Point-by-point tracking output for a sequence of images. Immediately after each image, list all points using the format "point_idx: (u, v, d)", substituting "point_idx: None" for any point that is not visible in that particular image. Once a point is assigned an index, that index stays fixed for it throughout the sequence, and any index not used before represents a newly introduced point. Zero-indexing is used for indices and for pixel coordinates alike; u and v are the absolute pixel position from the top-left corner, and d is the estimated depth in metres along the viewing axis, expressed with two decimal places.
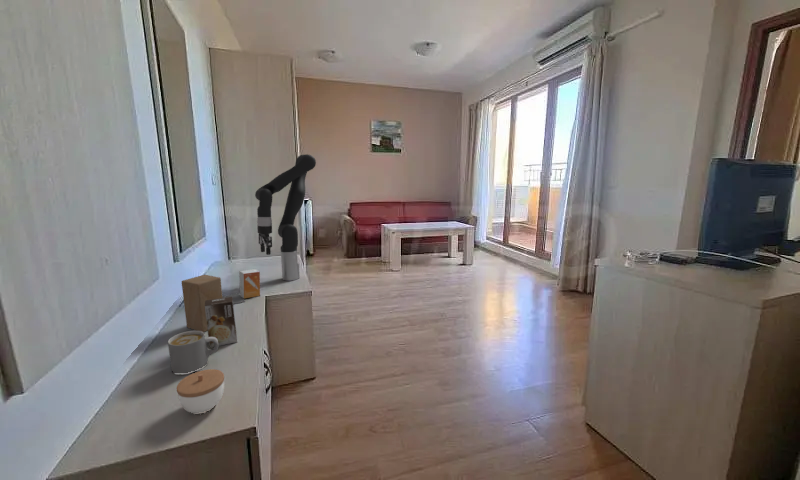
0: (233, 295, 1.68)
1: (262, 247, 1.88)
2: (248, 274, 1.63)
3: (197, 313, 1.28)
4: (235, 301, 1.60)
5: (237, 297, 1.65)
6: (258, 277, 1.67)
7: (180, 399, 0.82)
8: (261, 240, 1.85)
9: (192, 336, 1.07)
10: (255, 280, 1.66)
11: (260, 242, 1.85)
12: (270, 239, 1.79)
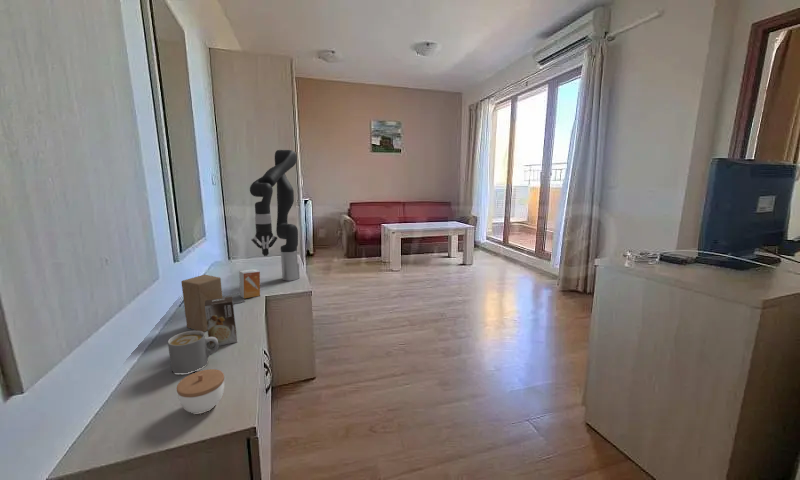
0: (233, 295, 1.68)
1: None
2: (248, 274, 1.63)
3: (197, 313, 1.28)
4: (235, 301, 1.60)
5: (237, 297, 1.65)
6: (258, 277, 1.67)
7: (180, 399, 0.82)
8: (264, 240, 1.67)
9: (192, 336, 1.07)
10: (255, 280, 1.66)
11: (264, 243, 1.67)
12: None
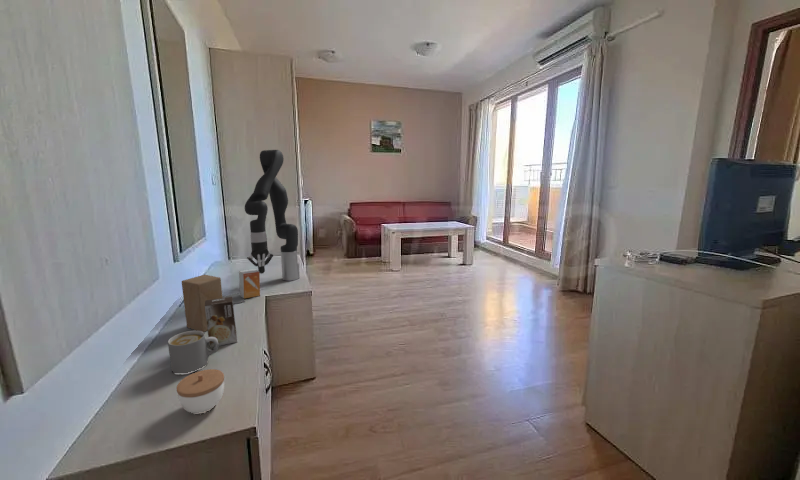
0: (233, 295, 1.68)
1: None
2: (247, 274, 1.63)
3: (197, 313, 1.28)
4: (235, 301, 1.60)
5: (237, 297, 1.65)
6: (258, 277, 1.67)
7: (180, 399, 0.82)
8: (260, 258, 1.67)
9: (192, 336, 1.07)
10: (255, 280, 1.66)
11: (260, 261, 1.67)
12: None
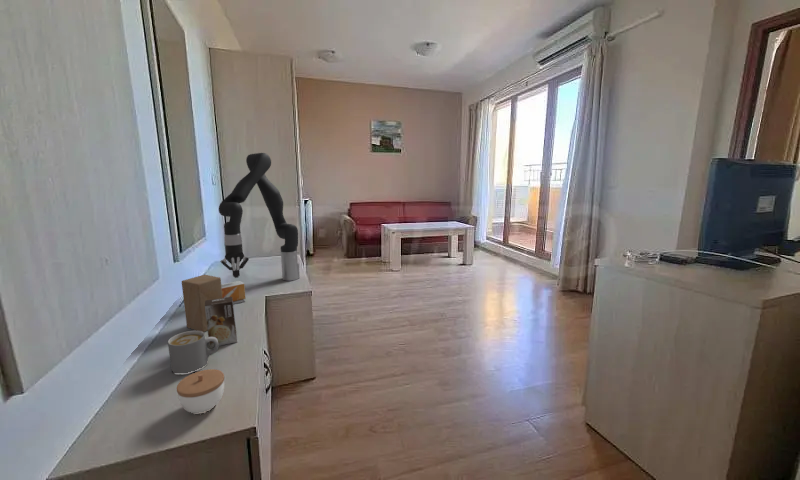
0: None
1: None
2: None
3: (197, 313, 1.28)
4: (235, 301, 1.60)
5: None
6: (223, 289, 1.56)
7: (180, 399, 0.82)
8: (234, 261, 1.60)
9: (192, 336, 1.07)
10: (226, 291, 1.57)
11: None
12: None
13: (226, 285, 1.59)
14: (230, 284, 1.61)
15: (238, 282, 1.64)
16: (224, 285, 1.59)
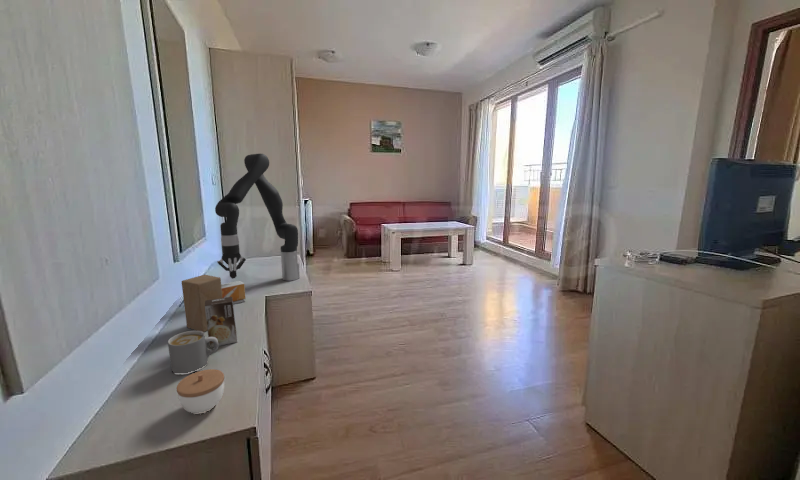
0: None
1: None
2: None
3: (197, 313, 1.28)
4: (235, 301, 1.60)
5: None
6: (223, 289, 1.56)
7: (180, 399, 0.82)
8: (231, 262, 1.59)
9: (192, 336, 1.07)
10: (226, 291, 1.57)
11: (231, 265, 1.59)
12: None
13: (226, 285, 1.59)
14: (230, 284, 1.61)
15: (238, 282, 1.64)
16: (224, 285, 1.59)
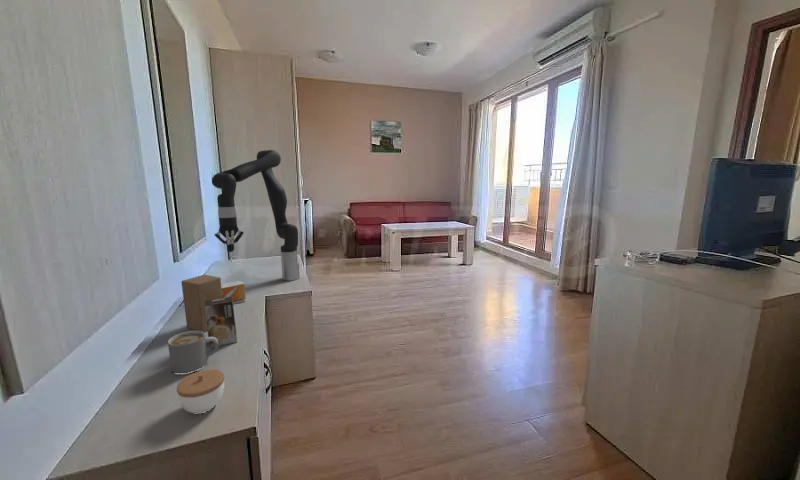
0: None
1: None
2: None
3: (197, 313, 1.28)
4: (235, 301, 1.60)
5: None
6: (223, 289, 1.56)
7: (180, 399, 0.82)
8: (228, 235, 1.57)
9: (192, 336, 1.07)
10: (226, 291, 1.57)
11: None
12: None
13: (226, 285, 1.59)
14: (230, 284, 1.61)
15: (238, 282, 1.64)
16: (224, 285, 1.59)
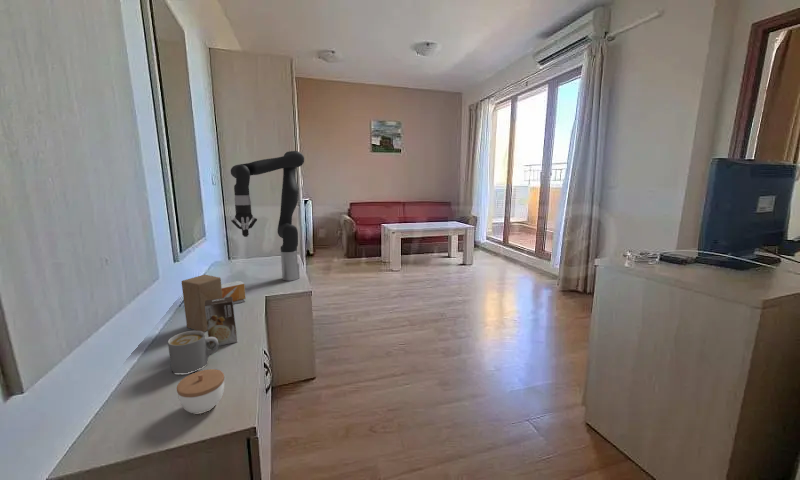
0: None
1: None
2: None
3: (197, 313, 1.28)
4: (235, 301, 1.60)
5: None
6: (223, 289, 1.56)
7: (180, 399, 0.82)
8: (243, 221, 1.72)
9: (192, 336, 1.07)
10: (226, 291, 1.57)
11: (244, 224, 1.72)
12: None
13: (226, 285, 1.59)
14: (230, 284, 1.61)
15: (238, 282, 1.64)
16: (224, 285, 1.59)
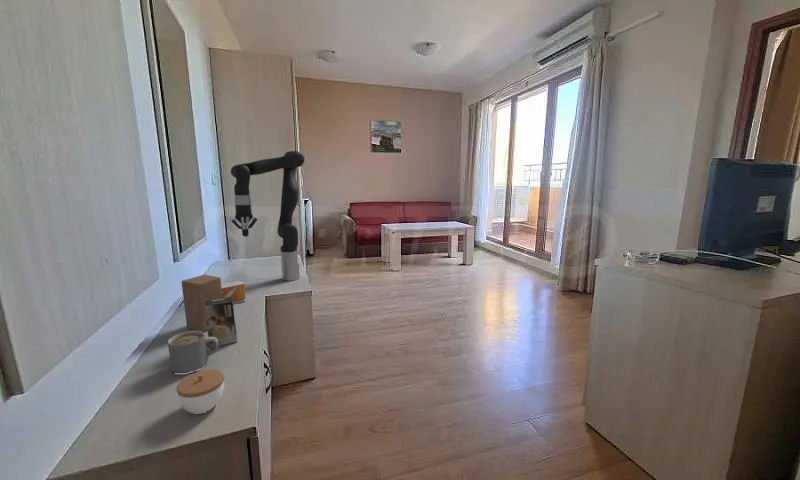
0: None
1: None
2: None
3: (197, 313, 1.28)
4: (235, 301, 1.60)
5: None
6: (223, 289, 1.56)
7: (180, 399, 0.82)
8: (243, 221, 1.72)
9: (192, 336, 1.07)
10: (226, 291, 1.57)
11: (244, 224, 1.72)
12: None
13: (226, 285, 1.59)
14: (230, 284, 1.61)
15: (238, 282, 1.64)
16: (224, 285, 1.59)
